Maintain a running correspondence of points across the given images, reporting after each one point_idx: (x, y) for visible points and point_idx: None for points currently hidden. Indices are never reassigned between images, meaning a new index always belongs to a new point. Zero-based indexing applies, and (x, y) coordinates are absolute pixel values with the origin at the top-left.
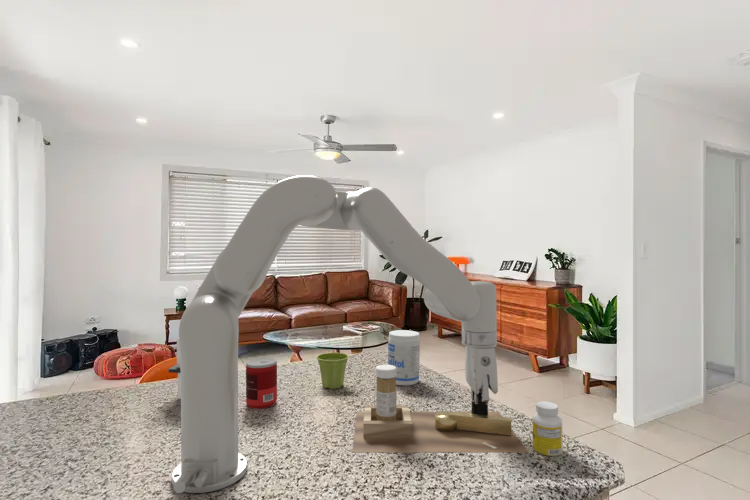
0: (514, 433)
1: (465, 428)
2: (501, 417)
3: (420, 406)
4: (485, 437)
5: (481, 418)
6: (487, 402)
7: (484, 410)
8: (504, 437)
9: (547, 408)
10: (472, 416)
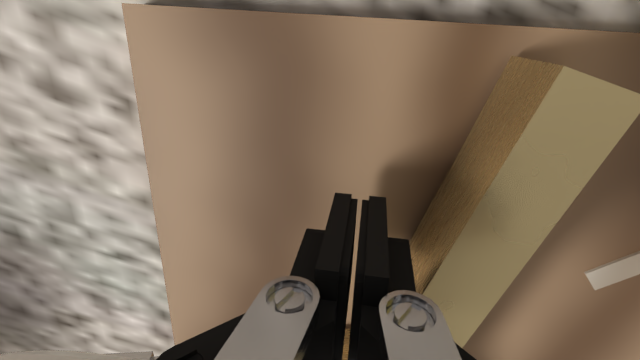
0: (518, 27)
1: None
2: (527, 160)
3: (91, 352)
4: None
5: (486, 307)
6: (443, 322)
7: (414, 280)
8: None
9: None
10: None
